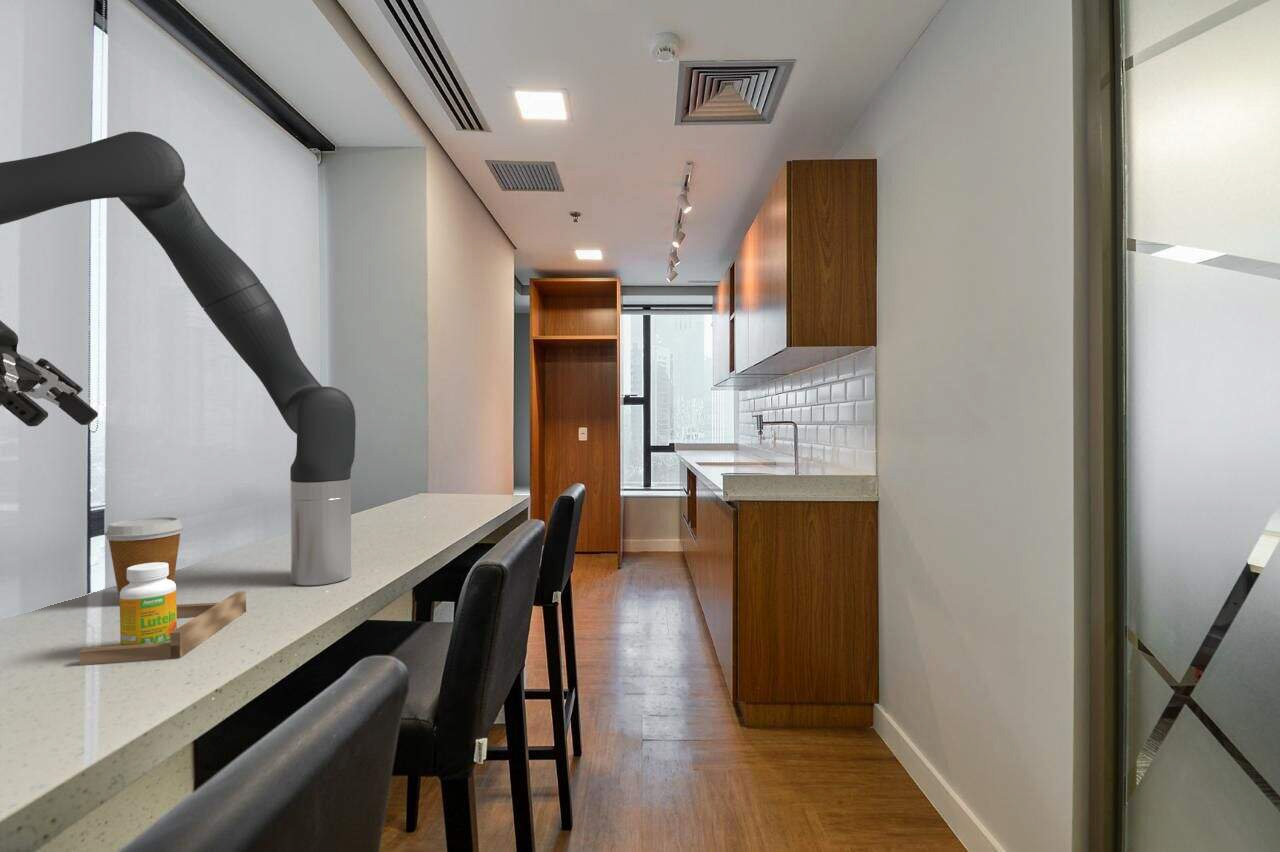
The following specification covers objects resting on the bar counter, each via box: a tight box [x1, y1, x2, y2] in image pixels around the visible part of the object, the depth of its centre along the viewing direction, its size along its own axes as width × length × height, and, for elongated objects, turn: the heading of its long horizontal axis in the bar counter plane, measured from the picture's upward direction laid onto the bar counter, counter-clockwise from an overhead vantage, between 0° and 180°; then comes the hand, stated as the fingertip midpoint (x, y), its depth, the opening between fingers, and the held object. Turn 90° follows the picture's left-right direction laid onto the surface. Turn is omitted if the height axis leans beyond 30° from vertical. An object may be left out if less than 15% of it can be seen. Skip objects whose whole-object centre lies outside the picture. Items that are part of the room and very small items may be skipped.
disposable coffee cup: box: [103, 516, 185, 602], centre depth 94 cm, size 10×10×12 cm
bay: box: [79, 590, 247, 666], centre depth 78 cm, size 17×10×3 cm, turn 11°
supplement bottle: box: [119, 562, 178, 646], centre depth 74 cm, size 5×5×10 cm
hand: (67, 420), depth 75 cm, fingers open, 8 cm apart
